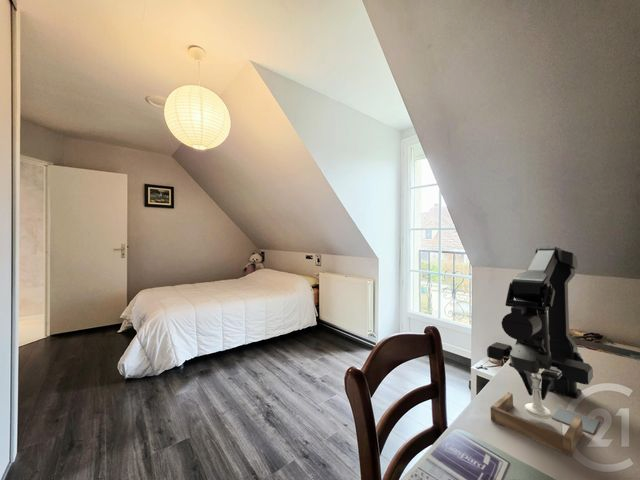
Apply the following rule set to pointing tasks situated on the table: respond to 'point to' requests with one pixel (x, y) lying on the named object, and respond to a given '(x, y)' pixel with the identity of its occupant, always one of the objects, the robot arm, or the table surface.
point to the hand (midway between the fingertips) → (537, 397)
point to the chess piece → (537, 400)
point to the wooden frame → (536, 427)
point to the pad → (569, 416)
